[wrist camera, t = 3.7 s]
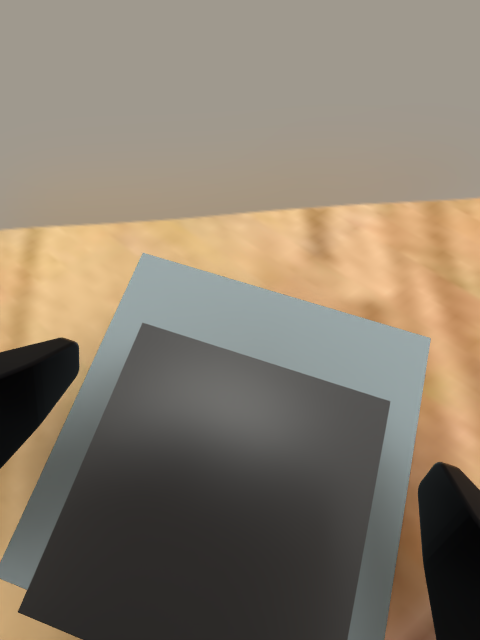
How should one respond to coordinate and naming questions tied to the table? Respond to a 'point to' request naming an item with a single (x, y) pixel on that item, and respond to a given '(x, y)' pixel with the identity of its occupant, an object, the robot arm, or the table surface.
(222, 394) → the slate lid
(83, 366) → the table surface
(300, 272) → the table surface
